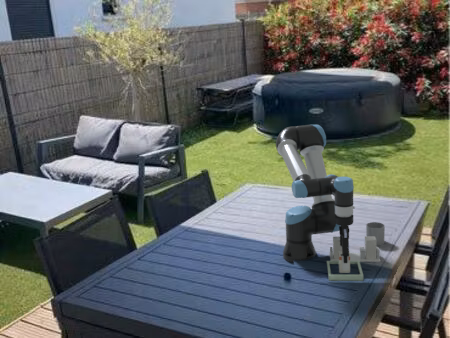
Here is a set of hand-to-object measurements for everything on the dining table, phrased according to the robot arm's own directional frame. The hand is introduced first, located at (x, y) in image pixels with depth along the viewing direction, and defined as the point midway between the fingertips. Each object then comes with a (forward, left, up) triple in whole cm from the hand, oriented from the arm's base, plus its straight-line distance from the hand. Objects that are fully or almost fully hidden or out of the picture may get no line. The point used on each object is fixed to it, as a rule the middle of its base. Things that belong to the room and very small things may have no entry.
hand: (344, 264), depth 210 cm
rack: (+6, +13, -4) cm, 15 cm away
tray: (0, 0, -4) cm, 4 cm away
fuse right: (+12, +13, -2) cm, 18 cm away
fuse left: (-2, +13, -2) cm, 13 cm away
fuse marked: (0, 0, -3) cm, 3 cm away
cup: (+17, +30, -4) cm, 35 cm away
